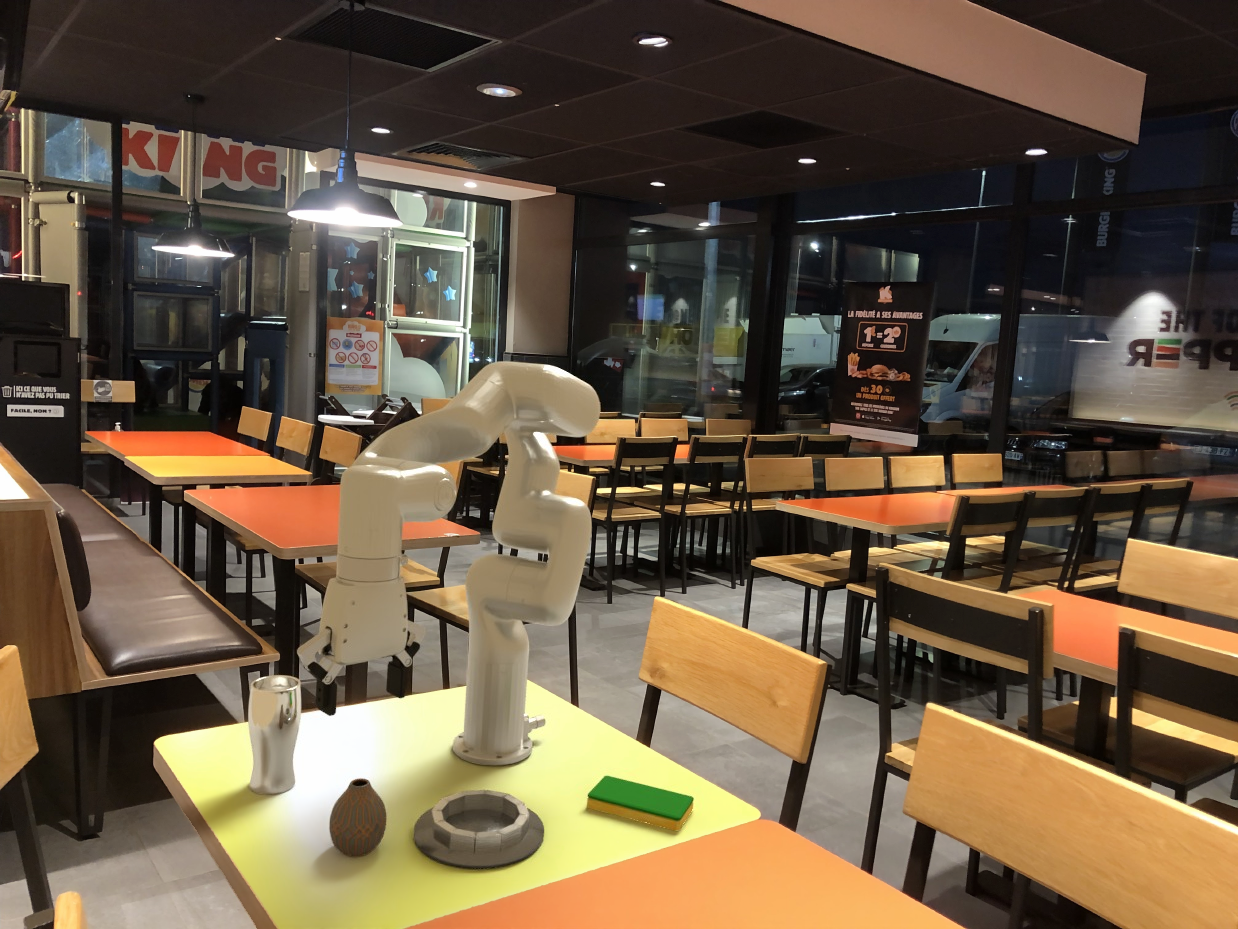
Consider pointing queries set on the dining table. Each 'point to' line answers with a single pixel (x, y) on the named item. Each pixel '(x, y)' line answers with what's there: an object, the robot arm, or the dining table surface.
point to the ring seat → (479, 830)
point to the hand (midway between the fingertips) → (361, 703)
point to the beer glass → (273, 732)
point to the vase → (358, 819)
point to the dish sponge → (640, 802)
